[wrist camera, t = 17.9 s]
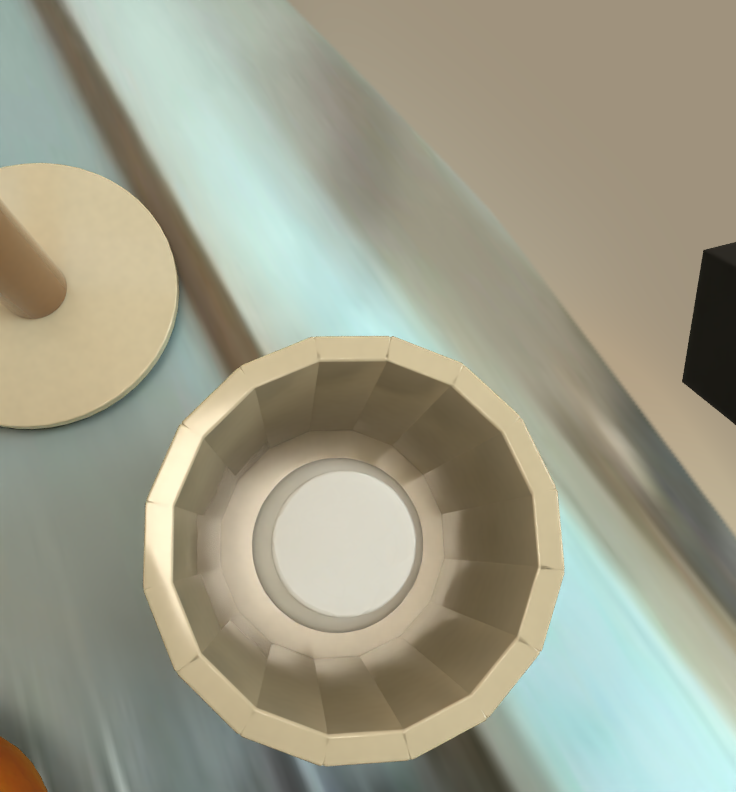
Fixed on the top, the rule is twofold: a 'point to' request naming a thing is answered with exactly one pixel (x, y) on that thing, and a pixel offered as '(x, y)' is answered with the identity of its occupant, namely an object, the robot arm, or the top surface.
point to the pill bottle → (337, 545)
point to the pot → (439, 572)
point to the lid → (77, 294)
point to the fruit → (17, 771)
